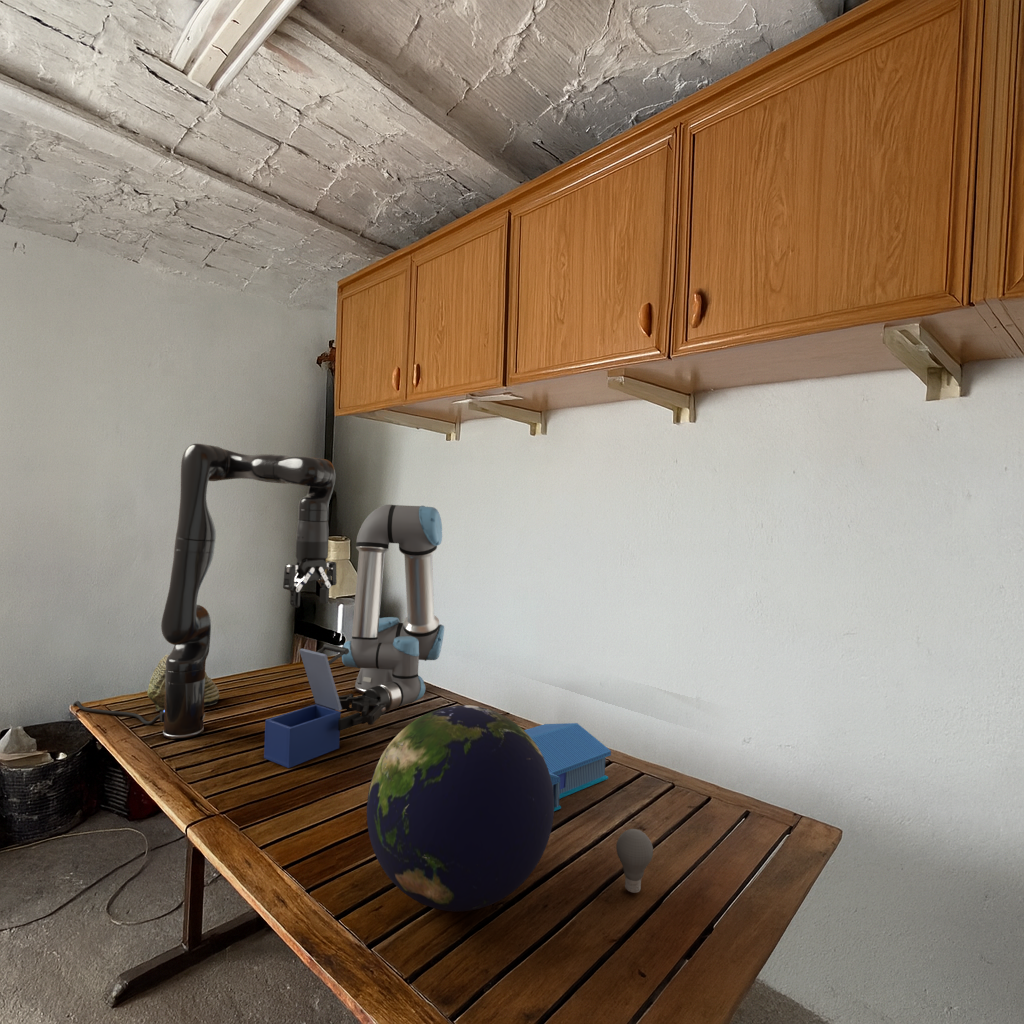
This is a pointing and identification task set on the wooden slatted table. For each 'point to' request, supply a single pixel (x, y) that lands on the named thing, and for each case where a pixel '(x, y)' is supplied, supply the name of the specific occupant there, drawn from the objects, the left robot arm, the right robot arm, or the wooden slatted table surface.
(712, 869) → the wooden slatted table surface
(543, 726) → the model building
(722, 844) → the wooden slatted table surface
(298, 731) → the chest
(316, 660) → the grey lid
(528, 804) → the globe
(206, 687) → the fossil
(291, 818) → the wooden slatted table surface
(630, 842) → the light bulb
